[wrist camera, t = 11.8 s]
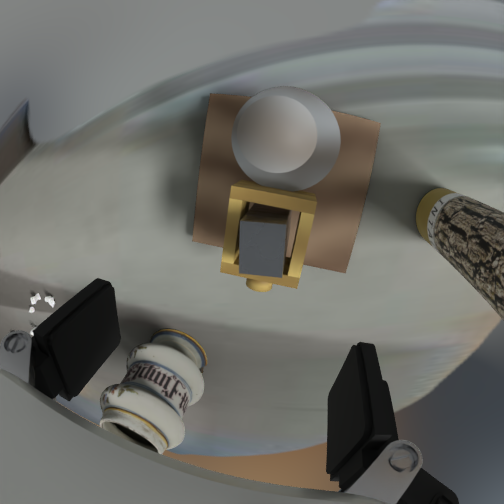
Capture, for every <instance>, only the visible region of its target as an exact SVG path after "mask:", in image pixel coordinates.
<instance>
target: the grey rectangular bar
mask: <svg viewBox="0 0 504 504" xmlns="http://www.w3.org/2000/svg"><path fill="white" fill-rule="evenodd" d="M291 212H292V210H289V209H284V208H279V207H274V206H269V205H264V204H258V203H255V204H254V205H253V206H252V207H251V208H250V209H249V211H248V212H247V213H246V214H245V215H244V217H243V218H242V219H241V220H240V240H239V273H240V274H250V275H259V276H268V277H278V278H282V276H283V270H284V264H285V259H286V253H287V247H288V241H289V236H290V225H291Z"/></svg>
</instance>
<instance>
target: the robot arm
mask: <svg viewBox="0 0 504 504" xmlns="http://www.w3.org/2000/svg"><path fill="white" fill-rule="evenodd" d="M33 334H34V336H33V337H32V338H31V336H30V334H28V333H27V332H25V331H19V330H18V331H13V332H11V333H9V334H7V335H6V336H5V337H4V338H3V340H2V342H1V345H0V504H459V502H458V498H457V496H456V494H455V493H454V492H453V491H452V490H450V489H449V488H447V487H446V486H445V485H443V484H442V483H441V482H439V481H438V480H437V479H435V478H434V477H432V476H431V475H430V474H428V473H427V472H426V471H425V470H423V469H422V468H421V465H422V455H421V452H420V451H419V449H418V447H417V446H415V445H414V444H413V443H411V442H409V441H405V440H398V434H397V428H396V422H395V417H394V411H393V406H392V401H391V396H390V392H389V387H388V384H387V382H386V381H385V380H382V375H381V370H380V366H379V362H378V357H377V353H376V349H375V346H374V344H369V343H363V342H359V343H358V344H357V346H356V345H353V346H352V347H351V349H350V352H349V354H348V356H347V358H346V360H345V362H344V364H343V366H342V368H341V370H340V372H339V374H338V376H337V378H336V380H335V382H334V384H333V386H332V388H331V390H330V392H329V396H328V432H327V463H326V464H327V465H326V472H327V474H330V481H339V487H340V488H341V489H340V490H339V491H338V492H335V491H325V490H315V489H306V488H297V487H290V486H283V485H277V484H271V483H265V482H259V481H254V480H249V479H244V478H239V477H234V476H231V475H226V474H222V473H219V472H215V471H211V470H207V469H204V468H201V467H197V466H194V465H191V464H188V463H185V462H181V461H178V460H176V459H173V458H170V457H167V456H164V455H162V454H159V453H156V452H154V451H151V450H149V449H146V448H144V447H141V446H139V445H137V444H134V443H132V442H130V441H128V440H125V439H123V438H121V437H119V436H117V435H115V434H113V433H111V432H109V431H107V430H105V429H103V428H101V427H99V426H97V425H95V424H93V423H91V422H89V421H87V420H86V419H84V418H82V417H80V416H79V415H77V414H75V413H73V412H72V411H70V410H68V409H67V408H65V407H63V406H62V405H60V404H59V403H57V402H56V396H57V395H58V394H59V395H60V396H61V397H63V398H64V399H66V400H68V401H70V400H71V399H72V398H73V396H74V397H76V396H77V395H78V394H79V393H80V392H81V390H82V389H83V388H84V387H85V385H86V384H87V383H88V382H89V380H90V379H91V378H92V377H93V375H94V374H95V373H96V372H97V370H98V369H99V368H100V367H101V365H102V364H103V363H104V362H105V361H106V359H107V358H108V357H109V356H110V355H111V353H112V352H113V351H114V350H115V349H116V347H117V346H118V345H119V343H120V339H121V336H120V330H119V323H118V316H117V308H116V300H115V291H114V288H113V287H112V285H111V283H110V282H109V281H105V280H102V279H99V278H97V279H95V280H94V281H93V282H91V283H90V284H89V285H88V286H86V287H85V288H84V289H82V290H81V291H80V292H79V293H77V294H76V295H75V296H74V297H72V298H71V299H70V300H69V301H67V302H66V303H65V304H64V305H63V306H61V307H60V308H59V309H58V310H56V311H55V312H54V313H53V314H52V315H50V316H49V317H48V318H47V319H46V320H45V321H43V322H42V323H41V324H40V325H39V326H38V327H36V328H35V329H34V330H33Z"/></svg>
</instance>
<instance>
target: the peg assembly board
mask: <svg viewBox="0 0 504 504" xmlns="http://www.w3.org/2000/svg"><path fill="white" fill-rule="evenodd" d="M380 124H381V123H378V122H375V121H371V120H368V119H364V118H360V117H356V116H352V115H348V114H344V113H340V112H336V111H332V110H331V109H330V108H329V107H328V106H327V105H326V103H324V102H323V101H322V100H321V99H320V98H319V97H317V96H316V95H314V94H312V93H310V92H308V91H306V90H303V89H300V88H296V87H288V86H281V87H274V88H270V89H266V90H264V91H262V92H259V93H258V94H256V95H254V96H253V97H247V96H237V95H226V94H212V93H210V99H209V105H208V111H207V118H206V125H205V132H204V139H203V146H202V154H201V162H200V170H199V178H198V187H197V197H196V207H195V217H194V228H193V240H192V241H194V242H199V243H204V244H208V245H213V246H218V247H223V254H222V262H221V270H220V272H222V273H227V274H231V275H236V276H240V277H245V278H247V281H246V285H247V287H249V288H250V289H252V290H254V291H258V292H266V291H269V290H271V289H272V284H277V285H282V286H287V287H291V288H296V289H297V286H298V283H299V279H300V275H301V270H302V266H303V264H304V265H308V266H313V267H318V268H323V269H328V270H332V271H337V272H342V273H346V269H347V266H348V263H349V259H350V256H351V252H352V249H353V245H354V242H355V238H356V234H357V231H358V227H359V223H360V219H361V215H362V211H363V207H364V203H365V199H366V195H367V190H368V186H369V181H370V177H371V172H372V167H373V162H374V157H375V152H376V147H377V141H378V136H379V130H380ZM255 203H258V204H264V205H269V206H274V207H279V208H284V209H289V210H292V212H291V225H290V236H289V241H288V247H287V253H286V259H285V264H284V270H283V276H282V278H278V277H268V276H259V275H250V274H240V273H239V240H240V220H241V219H242V218H243V217H244V215H245V214H246V213H247V212H248V211H249V209H250V208H251V207H252V206H253V205H254V204H255Z"/></svg>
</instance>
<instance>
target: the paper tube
mask: <svg viewBox="0 0 504 504" xmlns="http://www.w3.org/2000/svg"><path fill="white" fill-rule="evenodd" d="M416 224H417V228H418V230H419V232H420V234H421V236H422V237H423V238H424V239H425V240H426V241H427V242H428V243H429V244H430V245H431V246H433V247H434V248H435V249H436V250H437V251H438V252H439V253H440V254H441V255H442V256H443V257H444V258H445V259H446V260H447V261H448V262H449V263H450V264H451V265H452V266H453V267H454V268H455V269H456V270H457V271H458V272H459V273H460V274H461V275H462V276H463V277H464V278H465V279H466V280H467V281H468V282H469V283H470V284H471V285H472V286H473V287H474V288H475V289H476V290H477V291H478V292H479V293H480V294H481V295H482V297H483V298H484V299H485V300H486V301H487V302H488V303H489V304H490V305H491V307H492V308H493V309H494V310H495V311H496V312H497V313H498V315H499V316H500V317H501V318H502V319H503V320H504V213H503V212H501V211H499V210H497V209H495V208H492V207H490V206H488V205H486V204H483V203H481V202H479V201H476V200H474V199H472V198H469V197H467V196H464V195H462V194H459V193H456V192H454V191H451V190H448V189H445V188H437V189H434V190H431V191H430V192H428V193H427V194H426V195H425V196H424V197H423V198H422V200H421V201H420V203H419V205H418V208H417V213H416Z"/></svg>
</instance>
